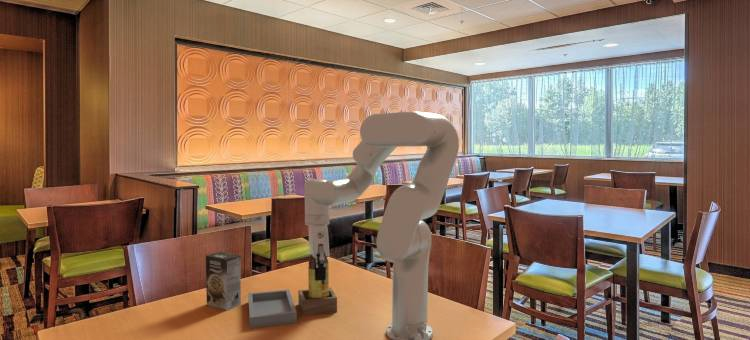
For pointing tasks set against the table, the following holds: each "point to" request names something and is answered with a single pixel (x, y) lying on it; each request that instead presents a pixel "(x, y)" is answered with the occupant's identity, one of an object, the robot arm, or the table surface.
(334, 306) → the open wooden box frame
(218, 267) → the coffee box
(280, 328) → the table surface
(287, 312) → the tray
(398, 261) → the robot arm
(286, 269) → the table surface
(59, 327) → the table surface
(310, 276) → the sauce bottle
